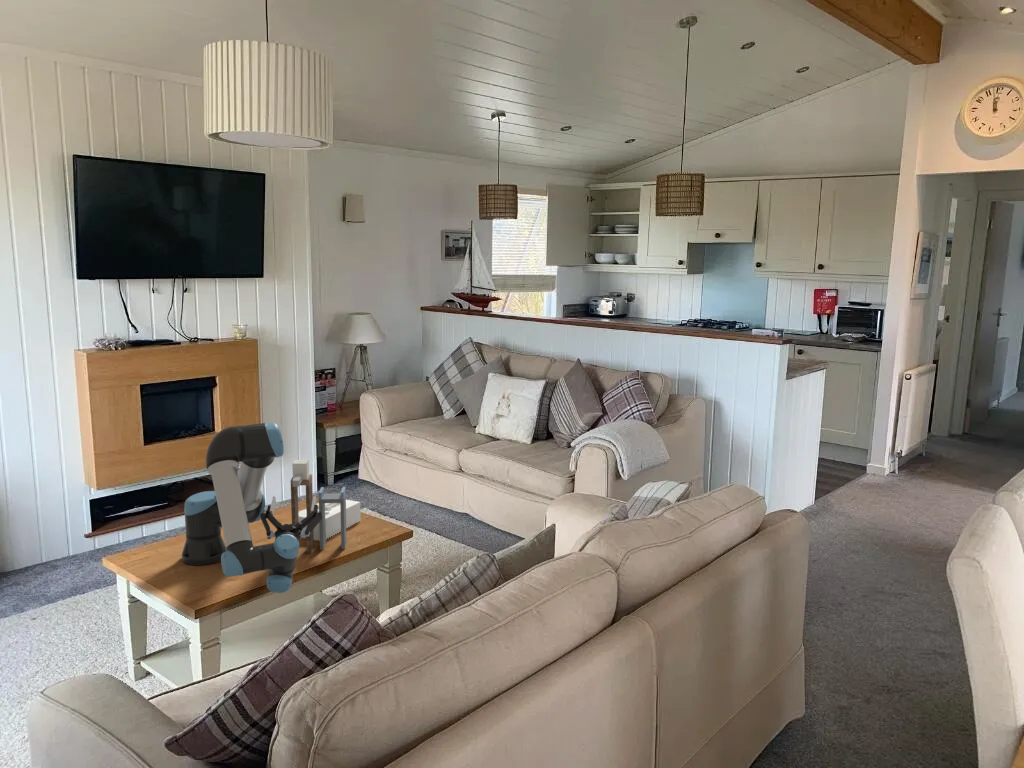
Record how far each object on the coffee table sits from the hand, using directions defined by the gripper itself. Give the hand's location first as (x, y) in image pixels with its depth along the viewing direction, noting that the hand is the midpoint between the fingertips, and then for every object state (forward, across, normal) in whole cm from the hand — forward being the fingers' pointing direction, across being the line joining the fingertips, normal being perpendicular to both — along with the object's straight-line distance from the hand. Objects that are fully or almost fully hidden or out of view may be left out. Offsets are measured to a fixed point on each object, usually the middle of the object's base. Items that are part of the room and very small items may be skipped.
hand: (294, 498), depth 266 cm
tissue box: (+21, +5, -41) cm, 47 cm away
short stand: (+4, +10, -31) cm, 33 cm away
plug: (+11, 0, -3) cm, 11 cm away
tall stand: (+1, 0, -29) cm, 29 cm away
